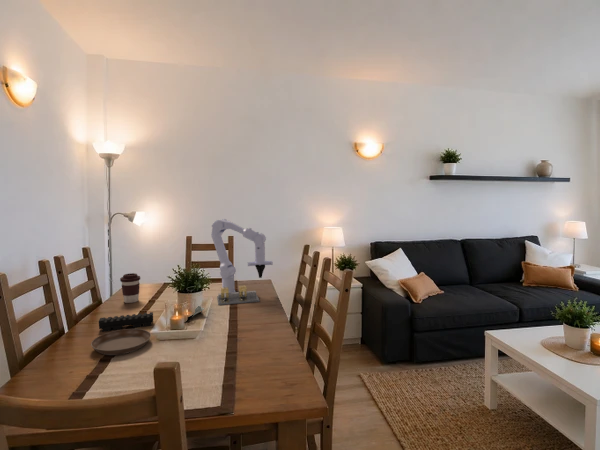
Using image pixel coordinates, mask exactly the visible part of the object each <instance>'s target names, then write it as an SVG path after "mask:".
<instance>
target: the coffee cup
mask: <svg viewBox="0 0 600 450" xmlns="http://www.w3.org/2000/svg"><path fill="white" fill-rule="evenodd" d="M119 280H120V282H121V291H122V296H123V302H124V303H126V304H131V303H136V302H139V296H140V285H141V284H140V280H141V276H140V275H138V273H134V272H133V273H131V272H130V273H125V274H123V275H122V277H120V279H119Z"/></svg>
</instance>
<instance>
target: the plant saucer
mask: <svg viewBox="0 0 600 450" xmlns="http://www.w3.org/2000/svg"><path fill="white" fill-rule="evenodd" d="M151 337H152V334H151V332H149V330H145V329H142V328H126V329H125V328H124V329H121V330H113V331H108V332H106V333H104V334H101V335H99V336H97V337H95V338H94V339H93V340H92V341H91V342H90V343H91V344H90V345H91V347H92V349H93V350H95V351H96V352H97V353H99V354H102V355H105V356H119V354H120V355H124V354H125V353H126V354H129V352H130V353H132V352H133V353H134V352H136V351H137V350H140V349H141V348H143V347H144V346H145V345H146V344H147V343H148V342H149V341H150V339H151Z"/></svg>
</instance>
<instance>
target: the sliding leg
mask: <svg viewBox="0 0 600 450" xmlns="http://www.w3.org/2000/svg"><path fill="white" fill-rule="evenodd" d="M247 291H248V290H247V285H238V292H239V297H243V298H245V296H247Z"/></svg>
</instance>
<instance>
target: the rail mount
mask: <svg viewBox="0 0 600 450" xmlns="http://www.w3.org/2000/svg"><path fill="white" fill-rule="evenodd" d="M153 323H154V311H152V312H151V311H150V312H149V313H148V312H144V313H143V314H142V313H138V314H135V313H133V314H132V315H130V314H126V315H125V316H124V315H123V314H122V315H119V316H118V315H115V316H114V317H112V316H108V318H107V317H100V318H99V319H98V328H99V329H98V330H101V332H102V333H103V332H113V331H117V330H123V328H122V327H128V326H132V329H139V328H144V327H150V326H151V327H152V324H153Z"/></svg>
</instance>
